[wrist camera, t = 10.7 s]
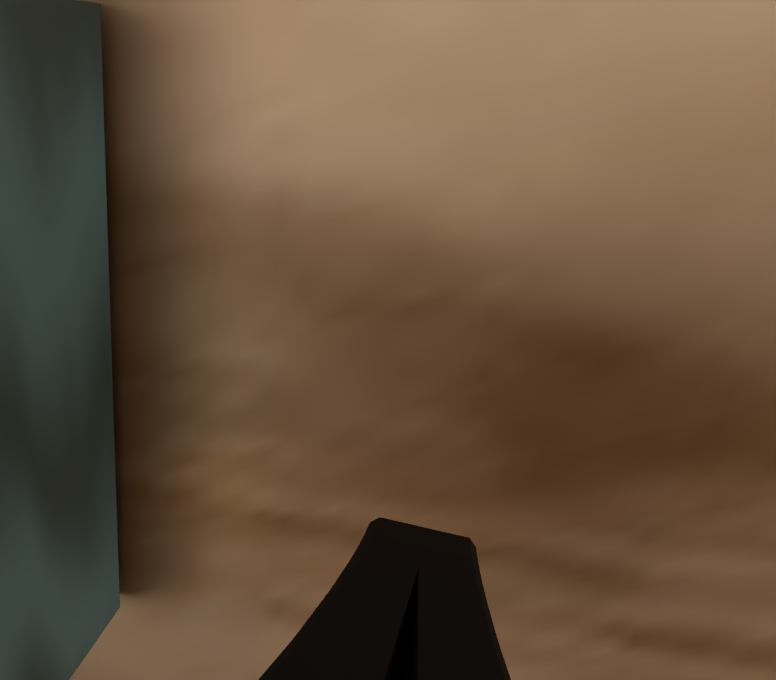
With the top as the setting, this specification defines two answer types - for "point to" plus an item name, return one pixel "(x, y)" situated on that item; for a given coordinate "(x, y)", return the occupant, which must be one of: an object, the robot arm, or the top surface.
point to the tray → (54, 343)
